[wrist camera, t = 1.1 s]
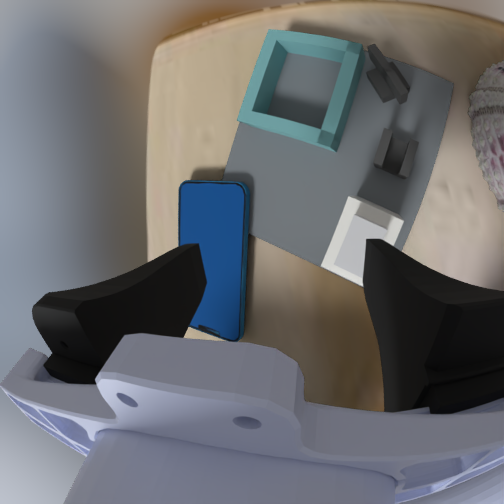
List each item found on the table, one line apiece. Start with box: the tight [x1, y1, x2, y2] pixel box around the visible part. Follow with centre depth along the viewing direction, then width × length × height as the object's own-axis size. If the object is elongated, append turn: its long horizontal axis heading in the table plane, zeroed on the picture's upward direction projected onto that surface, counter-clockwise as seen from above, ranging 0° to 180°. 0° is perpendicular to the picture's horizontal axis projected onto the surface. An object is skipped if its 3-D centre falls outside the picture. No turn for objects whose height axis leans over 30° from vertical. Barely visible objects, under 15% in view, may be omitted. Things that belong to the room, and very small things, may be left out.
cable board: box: [222, 29, 454, 288], centre depth 18 cm, size 16×18×4 cm
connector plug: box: [321, 196, 404, 286], centre depth 17 cm, size 4×4×6 cm
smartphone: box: [178, 180, 250, 342], centre depth 26 cm, size 7×1×15 cm
